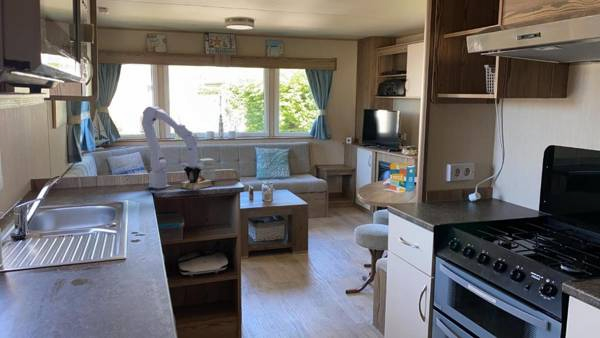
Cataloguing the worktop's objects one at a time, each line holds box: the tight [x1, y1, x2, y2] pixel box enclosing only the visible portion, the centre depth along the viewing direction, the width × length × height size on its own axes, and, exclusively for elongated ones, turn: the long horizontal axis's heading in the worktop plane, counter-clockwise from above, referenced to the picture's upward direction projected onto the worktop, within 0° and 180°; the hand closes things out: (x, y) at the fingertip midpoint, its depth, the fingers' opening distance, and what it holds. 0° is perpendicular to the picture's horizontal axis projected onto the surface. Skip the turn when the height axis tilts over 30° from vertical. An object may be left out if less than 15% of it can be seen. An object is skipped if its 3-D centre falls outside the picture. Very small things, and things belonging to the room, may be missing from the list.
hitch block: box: [180, 178, 213, 191], centre depth 261 cm, size 10×13×3 cm
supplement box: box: [198, 157, 216, 182], centre depth 279 cm, size 7×7×13 cm
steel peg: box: [189, 171, 197, 183], centre depth 258 cm, size 4×4×7 cm
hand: (193, 181), depth 259 cm, fingers closed on steel peg, 3 cm apart
